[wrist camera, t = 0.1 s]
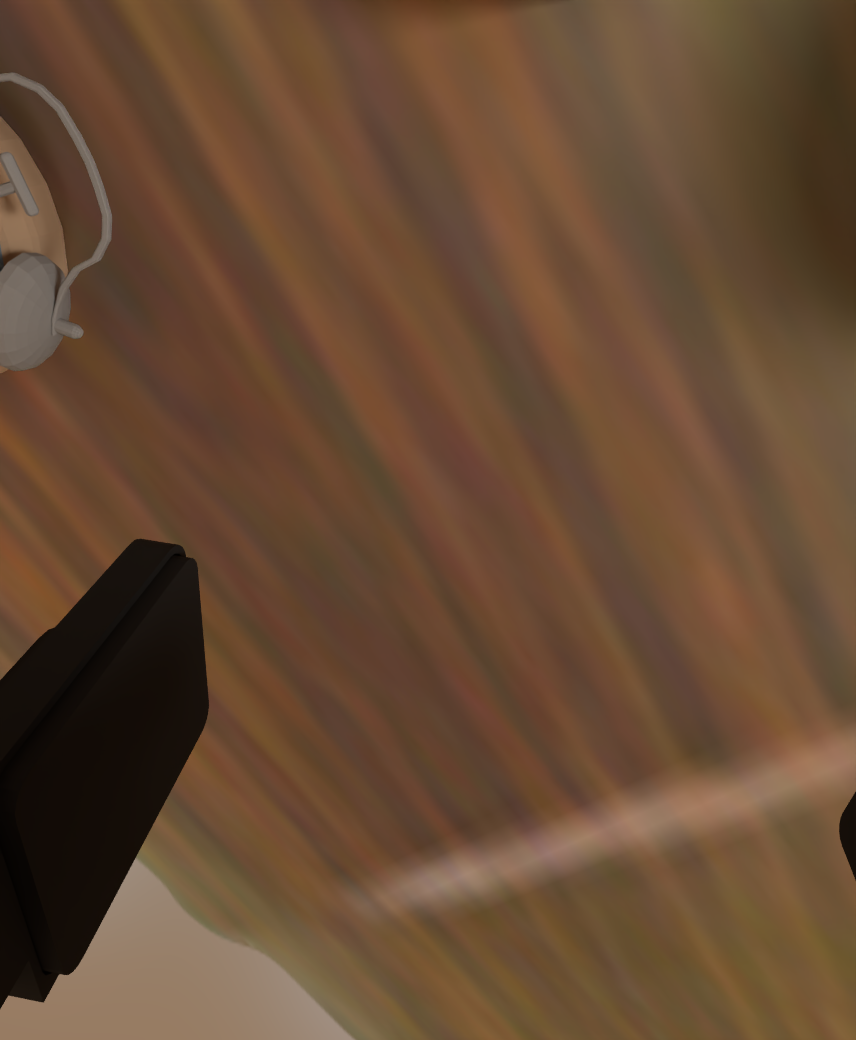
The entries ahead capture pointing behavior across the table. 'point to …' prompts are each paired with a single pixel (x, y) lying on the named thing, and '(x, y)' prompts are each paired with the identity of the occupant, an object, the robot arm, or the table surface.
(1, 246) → the alarm clock
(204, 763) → the table surface
